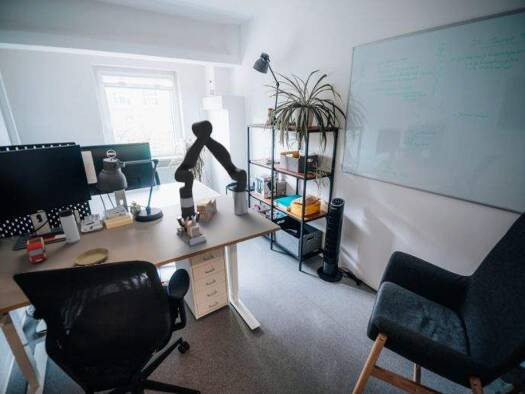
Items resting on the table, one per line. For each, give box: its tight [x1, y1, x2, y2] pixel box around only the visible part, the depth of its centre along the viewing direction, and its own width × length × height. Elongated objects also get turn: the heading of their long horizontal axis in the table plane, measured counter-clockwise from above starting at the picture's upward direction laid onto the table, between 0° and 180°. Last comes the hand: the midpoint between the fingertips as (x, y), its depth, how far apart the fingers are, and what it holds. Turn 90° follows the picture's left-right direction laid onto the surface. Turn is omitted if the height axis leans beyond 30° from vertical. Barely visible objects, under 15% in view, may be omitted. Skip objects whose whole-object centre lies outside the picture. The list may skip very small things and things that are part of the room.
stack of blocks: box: [196, 198, 218, 223], centre depth 176 cm, size 21×6×12 cm, turn 171°
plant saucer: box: [74, 247, 110, 266], centre depth 126 cm, size 15×15×3 cm
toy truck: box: [26, 236, 48, 264], centre depth 129 cm, size 7×21×10 cm, turn 43°
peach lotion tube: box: [181, 218, 201, 238], centre depth 146 cm, size 5×16×6 cm, turn 39°
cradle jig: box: [176, 226, 208, 248], centre depth 147 cm, size 10×20×4 cm, turn 39°
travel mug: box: [57, 208, 81, 244], centre depth 141 cm, size 6×7×20 cm
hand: (190, 230), depth 146 cm, fingers closed on peach lotion tube, 4 cm apart
